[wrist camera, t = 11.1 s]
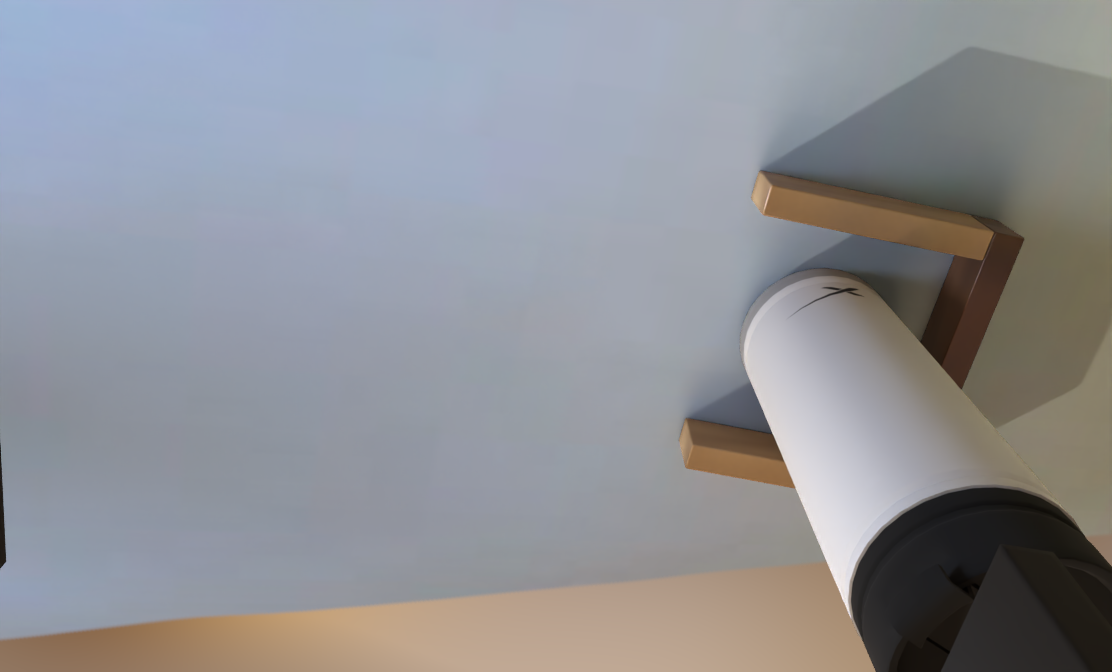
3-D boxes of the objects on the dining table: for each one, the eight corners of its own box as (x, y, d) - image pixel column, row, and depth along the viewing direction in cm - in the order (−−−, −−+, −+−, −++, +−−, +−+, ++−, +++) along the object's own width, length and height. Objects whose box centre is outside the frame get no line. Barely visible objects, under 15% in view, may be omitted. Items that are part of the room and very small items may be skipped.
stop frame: (758, 169, 38) (771, 184, 36) (998, 220, 39) (1025, 238, 36) (678, 440, 43) (685, 468, 40) (893, 480, 43) (911, 510, 41)
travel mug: (802, 231, 39) (1023, 508, 20) (918, 322, 40) (1222, 656, 22) (701, 345, 41) (820, 691, 22) (817, 427, 42) (1016, 814, 24)
